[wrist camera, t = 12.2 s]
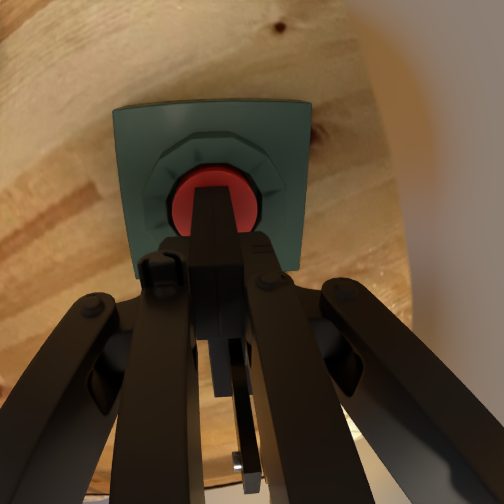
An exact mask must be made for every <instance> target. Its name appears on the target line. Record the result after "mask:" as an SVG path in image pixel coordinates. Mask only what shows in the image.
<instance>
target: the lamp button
mask: <svg viewBox="0 0 504 504" xmlns="http://www.w3.org/2000/svg"><path fill="white" fill-rule="evenodd" d="M211 186H229V191H230V196H231V201H232V206H233V211H234V216H235V221H236V226H237V231H238V232H250V231H251V229H252V228H253V226H254V224H255V221H256V217H257V201H256V198H255V195H254V192H253V190H252V187H251V185H250V183H249V181H248V179H247V177H246V176H245V175H244V174H243V173H242V172H241V171H240V170H239V169H237V168H236V167H234V166H232V165H230V164H227V163H203V164H199V165H197V166H195V167H194V168H192V169H190V170H189V171H188V172H187V173H186V174H185V175H184V176H183V177H182V178H181V180H180V182H179V184H178V186H177V189H176V193H175V196H174V200H173V204H172V216H173V221H174V224H175V226H176V228H177V230H178V231H179V233H180V234H181V235H182V236H190V232H191V221H192V210H193V200H194V190H195V187H211Z"/></svg>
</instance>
